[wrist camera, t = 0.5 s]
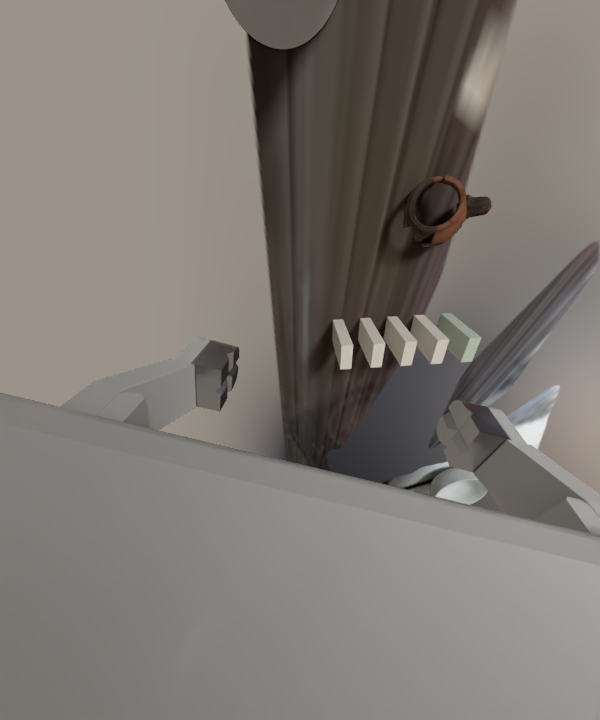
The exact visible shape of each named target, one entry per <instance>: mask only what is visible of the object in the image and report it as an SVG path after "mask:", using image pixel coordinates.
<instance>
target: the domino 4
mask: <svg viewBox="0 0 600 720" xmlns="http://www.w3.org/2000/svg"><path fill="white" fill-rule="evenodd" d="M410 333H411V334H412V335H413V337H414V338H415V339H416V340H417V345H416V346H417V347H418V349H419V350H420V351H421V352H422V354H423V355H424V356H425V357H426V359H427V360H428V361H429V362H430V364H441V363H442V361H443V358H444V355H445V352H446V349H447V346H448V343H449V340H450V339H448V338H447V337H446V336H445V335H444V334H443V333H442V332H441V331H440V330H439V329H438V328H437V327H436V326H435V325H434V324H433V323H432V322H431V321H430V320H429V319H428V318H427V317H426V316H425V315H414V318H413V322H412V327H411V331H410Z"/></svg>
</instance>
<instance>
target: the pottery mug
mask: <svg viewBox="0 0 600 720" xmlns="http://www.w3.org/2000/svg"><path fill="white" fill-rule="evenodd" d="M435 183H444V184H448V185H450V186H452V187H453V188H454V189H455V190H456V191H457V193H458V198H459V203H458V204H457V210H456V212H455V213H454V215H453V216H452V217H451V218H450V219H449V220H448V221H446V222H445V223H443V224H441V225H437V226H426V225H424V224H422V223H420V222H419V221H418V220H417V218H416V216H415V203H416V201H417V199H418V197H419V195H420V194H421V193H422V192H423V191H424V190H425V189H426V188H428V187H429V186H431V185H433V184H435ZM406 203H407V204H406V206H405V208H404V223H403V228H405V227H411V226H412V227H413V235H414V239H415V240H416V241H418V242H421V241H422V240H423V239H425V238H426V237H428V236H429V235H431V234H433V233H434V236H433V239H432V241H431V243H422V244H421V246H422V247H431V246H435V245H439V244H442V243H444V242H445V241H447V240H448V239H450V238H451V237H452V236H453V235H454V234H455V233H456V232H457V231H458V230H459V229H460V228H461V226H462V223H463V222H464V221H465V220H466V219H467V218H469V217H474V216H479V215H484V214H487V213H488V211H489V210H490V208H491V200H490V199H489V198H488V197H471V196H470V195H466V192H465V189H464V187H463V185H462V183H461V182H460V181H459V180H457V179H456V178H454V177H451V176H444V177H441V176H436V177H432V178H429V179H427V180H424V181H422V182H421V183H420V184H419V185H418V186H417V187H416V188H415V189H414V190H413V191H412V193H411V194H410V196H409V197H408V199H407V201H406Z"/></svg>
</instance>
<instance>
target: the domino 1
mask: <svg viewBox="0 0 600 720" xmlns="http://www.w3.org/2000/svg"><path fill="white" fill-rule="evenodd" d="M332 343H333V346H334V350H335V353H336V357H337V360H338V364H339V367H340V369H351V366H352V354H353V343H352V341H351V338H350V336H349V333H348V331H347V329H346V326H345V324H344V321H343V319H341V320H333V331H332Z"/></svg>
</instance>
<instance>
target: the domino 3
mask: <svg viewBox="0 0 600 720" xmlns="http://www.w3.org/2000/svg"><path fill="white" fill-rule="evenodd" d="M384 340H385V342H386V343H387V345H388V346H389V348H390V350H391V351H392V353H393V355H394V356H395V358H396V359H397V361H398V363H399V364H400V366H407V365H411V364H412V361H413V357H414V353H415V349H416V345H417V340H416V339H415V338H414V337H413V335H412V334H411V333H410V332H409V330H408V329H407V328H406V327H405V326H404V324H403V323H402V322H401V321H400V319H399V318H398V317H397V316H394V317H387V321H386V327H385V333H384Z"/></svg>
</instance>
